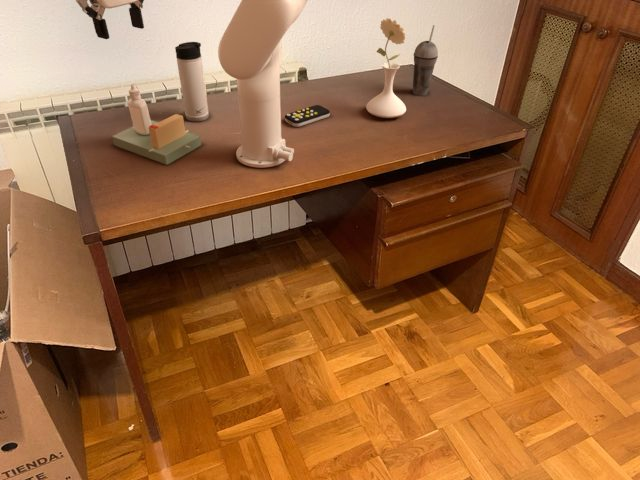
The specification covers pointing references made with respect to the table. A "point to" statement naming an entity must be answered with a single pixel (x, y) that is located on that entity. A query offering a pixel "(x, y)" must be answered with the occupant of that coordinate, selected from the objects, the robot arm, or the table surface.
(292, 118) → the remote control
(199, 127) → the table surface
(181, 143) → the green flat block
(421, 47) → the beverage cup
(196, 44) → the travel mug
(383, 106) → the flower in vase
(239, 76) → the robot arm
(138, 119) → the eye dropper bottle
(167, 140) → the orange block
